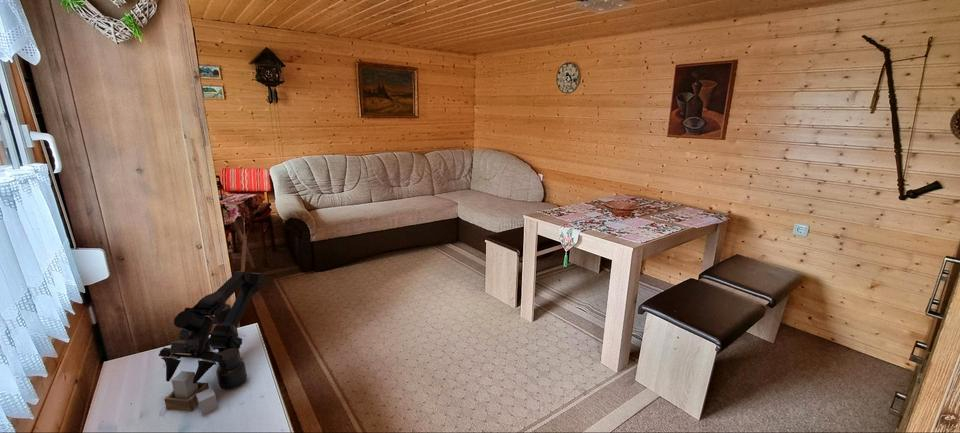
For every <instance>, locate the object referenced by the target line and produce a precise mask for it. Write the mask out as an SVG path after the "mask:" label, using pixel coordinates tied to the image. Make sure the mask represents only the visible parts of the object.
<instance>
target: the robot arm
mask: <svg viewBox="0 0 960 433" xmlns="http://www.w3.org/2000/svg"><path fill="white" fill-rule="evenodd" d="M265 283H266V277H265V275H264V274H263V273H261V272H247V271H243V270H237V271H234V272H233V273H232V276H231V277H229V278H228V279H227V280H226V281H225V282H224V283H223V284H222V285H221V286H220V287H219V288H218V289H216V290H215V291H214V292H212V293H209V294H207V295H205V296H203V297H202V298H200V299H199V300H198V302H197V303H196V304H195V305H194V306H192V307H184V310H182V311H181V312H179V313H178V314H177V315H176V316H175V317H174V319H173V325H174V326H175V328H178V329H181V330H182V329H184V330H187V331H190V334H189V335H186V336H185V338H184V340H180V339H179V340H175V341H171V343H170V347H163V348H161V349H160V351H159V353H158V357H160V359H161V360H163V361H164V363H165V371H166V372H165V374H166V375H165V381H166V382H170V381H171V380H172V379H173V376H174V374H175V372H176V371H177V369H178V366H179V365H180V363H181V361H182V360H180V359H181V358H188V359H198V360H197V365H198V366H197V369H196V372H195V377H194V379H193V384H196V383H197V382H199V381H200V380H201V378H202V377H204V375H205V374H206V373H207V372H208V371H209V370H210V369H211V368H212V367H213V366H217V364H218V362H221V360H222V354H221V353H220V352H222V351H224V350H226V349H230V348H236V349H238V350H239V351H240V348H241V346H242V345H243V338H241V337H239V332H238V326H239V324H240V322H241V320H242V318H243V316H244V314H245V312H246V311H247V308H248V306H249V304H250V303H251V299H252V298H253V296H254V295H255V294H256V293H258V292H259V291H260V290H262V287H263V286H264V284H265ZM239 288H240V291H239V293H238V295H237V296H236V299H235V300H234V302H233V304H232V306H231V310H230V312H229V314H228V315H227V317H226V319H225V321H224V323H223V324H221V325H216V324H217V323H218V322H217V320H216V318H215V315H219V314H220V313H221V312H222V310H223V309H224V308H225V306H226V304H227V301H228V299H230V297H232V296H233V294H235V292H237V290H239ZM214 325H215V326H214ZM213 326H214V328H213ZM212 329H213V330H212ZM211 331H212V332H211ZM208 337H209V339H208ZM206 342H209V344H210V348H212V349H213V350H217V351H218V352H216V351H212V350H210V351H209V350H208V351H203V350H204V347H205V345H206ZM187 353H188V354H187ZM194 354H197V355H194ZM240 359H241V360H242V357H241V356H240ZM242 361H243V360H242Z"/></svg>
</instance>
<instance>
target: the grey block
mask: <svg viewBox="0 0 960 433" xmlns="http://www.w3.org/2000/svg"><path fill="white" fill-rule="evenodd" d="M196 397H197V402H198V405H197V407H198V409H199V412H200V414H201V415H202V416H203V415H206V414H208V413H211V412H212V411H214V409H215V410H216V408H217V409H218V408H219V406H218V402H217V397H216V393H215V391H214V389H213V387H209V389H207V390H204V391H202V392H200V393H197V394H196Z"/></svg>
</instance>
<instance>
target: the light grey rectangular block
mask: <svg viewBox="0 0 960 433" xmlns="http://www.w3.org/2000/svg"><path fill="white" fill-rule="evenodd" d="M195 374H196V372H195V371H184V370H182V371H180V372H179V373H178V374H177V375H176V376H175V377H172V378H171V380H170V381H171V384H172V388H173V391H174V393H175V397H176V398H180V399H189V398H190V397H191V396H192V395H194V394H195V393H196V392H197V391H198V390H199V389H198V385H197V383H196V384H193V379H194V377H195Z"/></svg>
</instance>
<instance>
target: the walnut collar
mask: <svg viewBox="0 0 960 433" xmlns="http://www.w3.org/2000/svg"><path fill="white" fill-rule="evenodd" d="M197 385H198V389H199V390H198V391H197V392H196V393H195V394H194V395H192V396H191V397H190V398H189V399H180V398H176V397H175V393H174V390H172V392H170V393H169V394H168V395H167V396H166V397H164V398H163V401H164V404H165V409H166V410H174V411H175V410H176V411H185V412H192V411H193V410H194V409H195V408H196V407H198V402H197V397H196V394H197V393H200V392H202V391H204V390H207V389H209V388H210V386H209V383H208V382H200V381H198V382H197Z"/></svg>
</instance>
